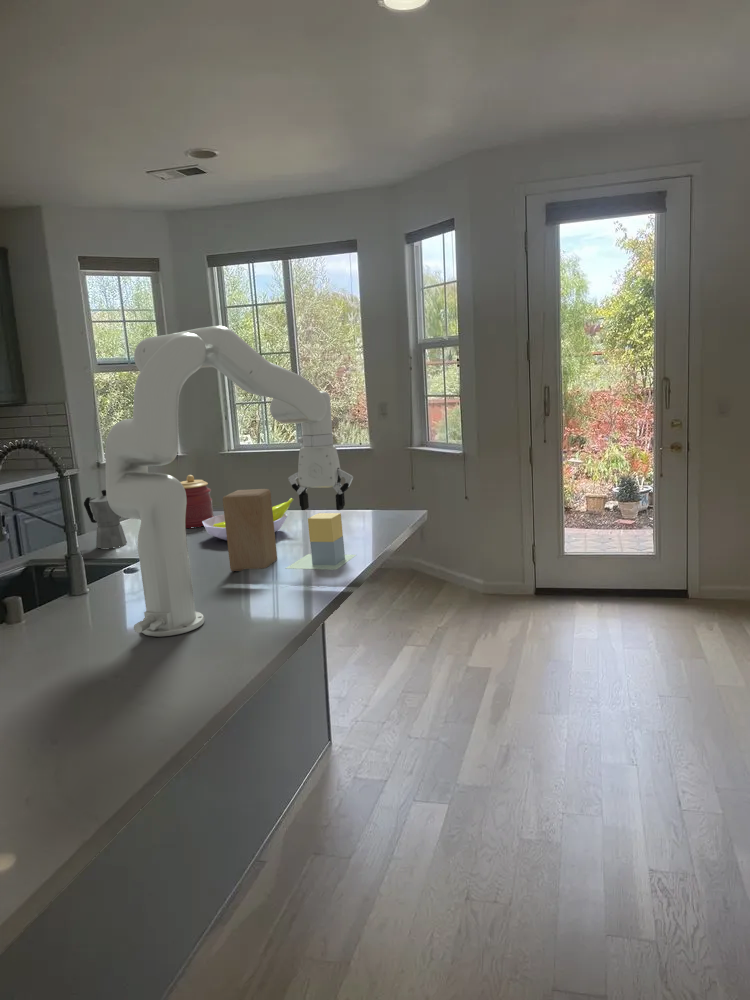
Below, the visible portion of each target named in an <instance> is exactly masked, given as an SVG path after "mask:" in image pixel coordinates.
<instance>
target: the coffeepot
mask: <svg viewBox="0 0 750 1000" xmlns="http://www.w3.org/2000/svg"><path fill="white" fill-rule="evenodd" d="M100 492H101V496H99V497H91V496H89V497H88V496H87V497H86V498H85V499H84V501H83V506H84V508H85V510H86V513H87V515H88V518H89V520H90V523H93V524H96V523H97V527H96V536H95V537H96V543H95V548H96V547H98V548H113V547H118V548H120V547H119V546H122V547H124V546H126V545H127V543H128V541H127V538H126V535H125V531H124V529H123V526H122V524H121V518H122V517H121V516H119V515H117V514H116V513H114V512H113V510H112V509H111V508H110V506H109V504H108V500H107V495H106V489H102V490H100ZM125 544H126V545H125ZM123 545H124V546H123ZM98 548H97V549H98ZM113 549H114V548H113Z"/></svg>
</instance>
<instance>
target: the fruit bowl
mask: <svg viewBox="0 0 750 1000" xmlns="http://www.w3.org/2000/svg"><path fill="white" fill-rule="evenodd" d="M294 500H295V499H294V498H292V497H290V498H289V500H288V501H285V502H282V503H279V504H277V505H274V506H272V512H273V522H274V532H277V531H279V530H281V528H282V526H283V524H285V522H286V520H287V518H288V514H287V513H286V512H287V510H289V509H290V507H291V504H292V503H293V501H294ZM202 523H203V525H204V528H205V530H206V532H207V534H208V535H209V536H212V537H215V538H217V539H221V540H224V541H227V534H226V525H225V517H224V513H223V514H219V515H214V517H212V518H209V519H207V520H204V521H202Z"/></svg>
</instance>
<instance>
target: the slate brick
mask: <svg viewBox="0 0 750 1000" xmlns="http://www.w3.org/2000/svg"><path fill="white" fill-rule="evenodd" d="M309 542H310V541H309ZM344 545H345V542H344V535H343V536H342V537H340V538H339V539H337V540H336V541H334V542H310V554H311V555H312V565H337V564H338V563H339V562H341V561H342V560H344V559H345V555H346V554H345V546H344Z"/></svg>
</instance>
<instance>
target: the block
mask: <svg viewBox="0 0 750 1000" xmlns="http://www.w3.org/2000/svg"><path fill="white" fill-rule="evenodd" d="M271 492H272V491H270V489H269V488H257V489H256V488H255V489H252V488H251V489H237V490H235V491H233V492H230V493H228V494H227V495H223V497H222V507H223V514H224V517H225V525H226V534H227V540H226V542H227V550H228V551H227V552H228V559H229V560H228V561H229V569H230V571H231V572H234V571H240V572H242V571H244V570H250V569H253V570H254V569H258V570H259V569H266V568H268V567H269V566H271V565H272V564H273V563H274V562H276V561H277V560H278V554H277V543H276V534H275V532H276V531H275V532H274V522H273V512H272V507H273V505H272V493H271Z"/></svg>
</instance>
